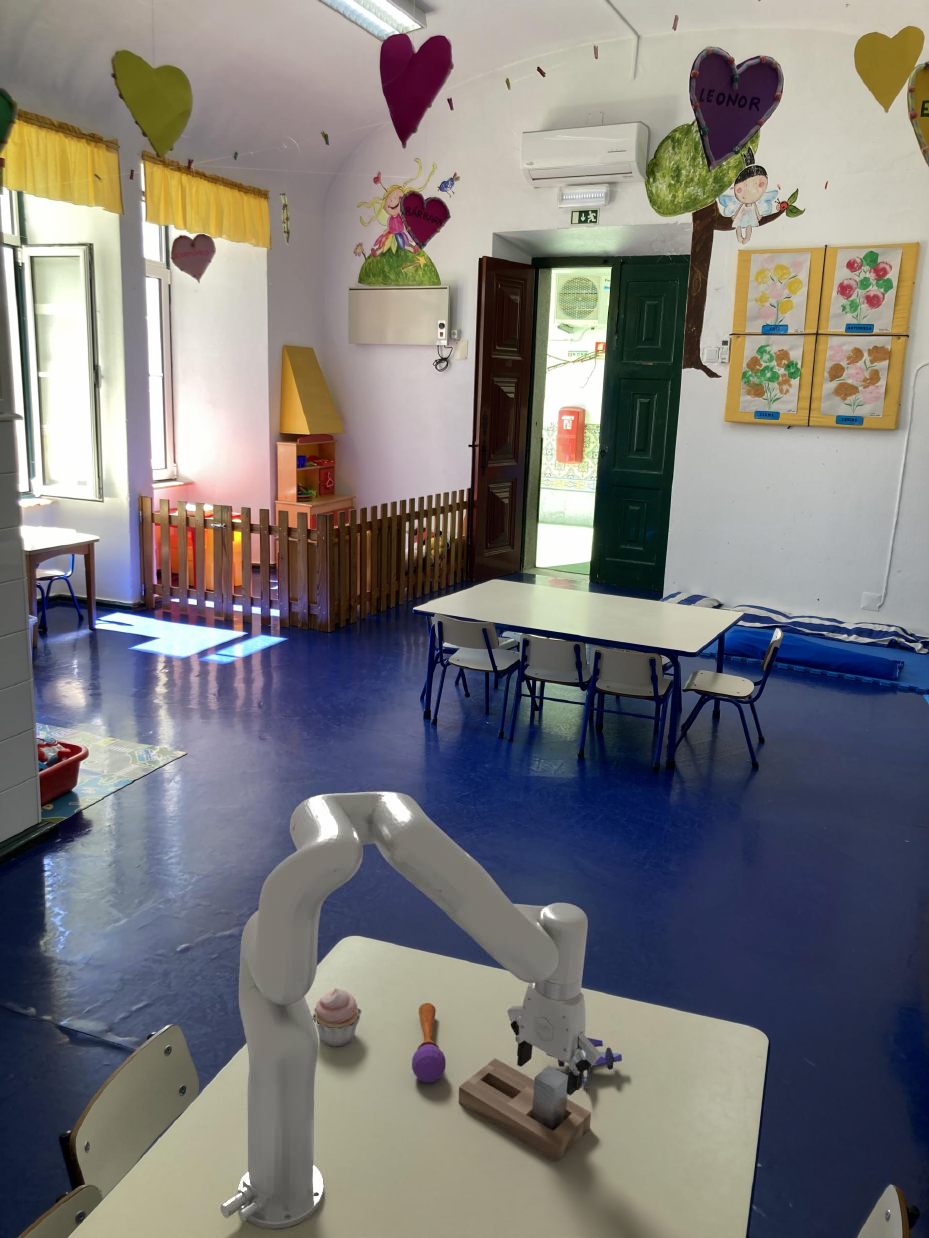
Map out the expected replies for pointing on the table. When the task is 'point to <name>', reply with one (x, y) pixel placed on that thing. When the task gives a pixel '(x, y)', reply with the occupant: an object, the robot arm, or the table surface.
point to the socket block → (520, 1109)
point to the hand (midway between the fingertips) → (548, 1076)
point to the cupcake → (336, 1017)
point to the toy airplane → (604, 1059)
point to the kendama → (428, 1049)
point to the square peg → (550, 1098)
